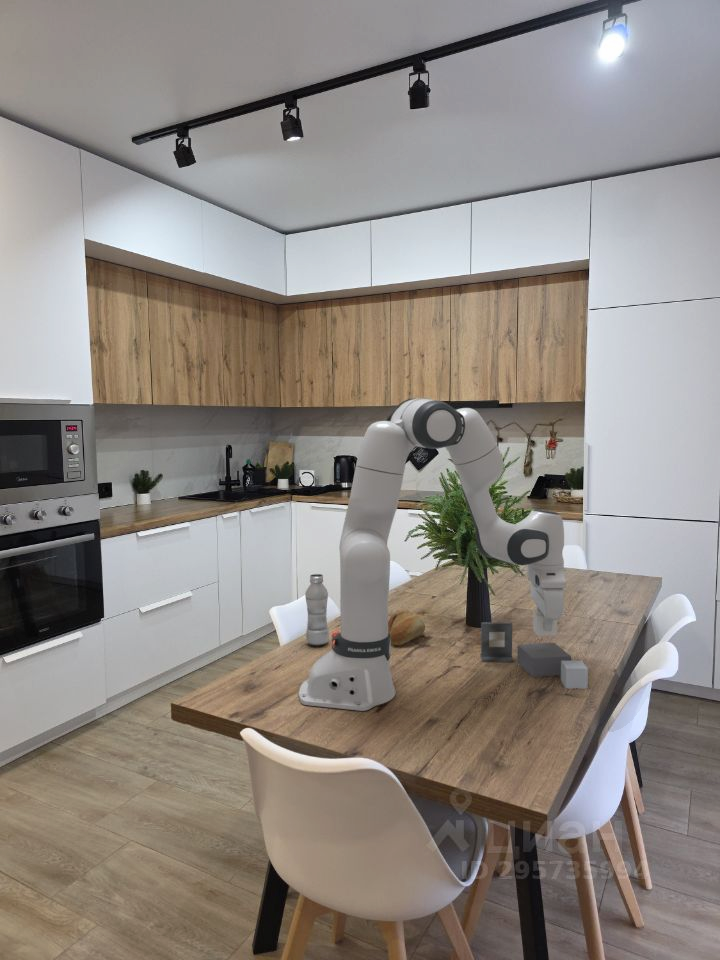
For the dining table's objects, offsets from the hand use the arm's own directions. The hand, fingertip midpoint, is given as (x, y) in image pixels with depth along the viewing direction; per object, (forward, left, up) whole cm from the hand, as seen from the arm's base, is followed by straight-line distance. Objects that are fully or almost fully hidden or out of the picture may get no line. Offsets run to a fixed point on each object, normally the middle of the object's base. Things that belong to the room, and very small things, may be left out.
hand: (544, 626), depth 166 cm
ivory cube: (0, 0, -2) cm, 2 cm away
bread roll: (-35, +21, -11) cm, 42 cm away
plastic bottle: (-60, +16, -11) cm, 63 cm away
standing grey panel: (-11, +6, -11) cm, 17 cm away
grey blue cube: (+5, -10, -11) cm, 16 cm away
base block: (0, 0, -11) cm, 11 cm away
